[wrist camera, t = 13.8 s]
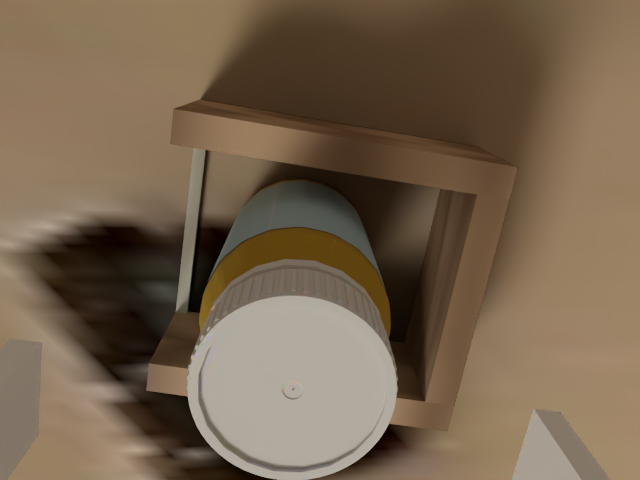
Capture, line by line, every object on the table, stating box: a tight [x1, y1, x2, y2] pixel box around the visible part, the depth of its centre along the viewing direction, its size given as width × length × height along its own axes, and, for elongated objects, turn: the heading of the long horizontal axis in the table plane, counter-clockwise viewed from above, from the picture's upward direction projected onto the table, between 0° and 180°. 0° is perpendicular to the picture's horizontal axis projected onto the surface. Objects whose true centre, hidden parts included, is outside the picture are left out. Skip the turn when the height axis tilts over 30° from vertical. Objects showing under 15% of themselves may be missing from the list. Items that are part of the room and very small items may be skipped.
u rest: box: [146, 100, 518, 431], centre depth 29 cm, size 14×13×6 cm
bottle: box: [187, 179, 398, 480], centre depth 24 cm, size 7×7×15 cm
